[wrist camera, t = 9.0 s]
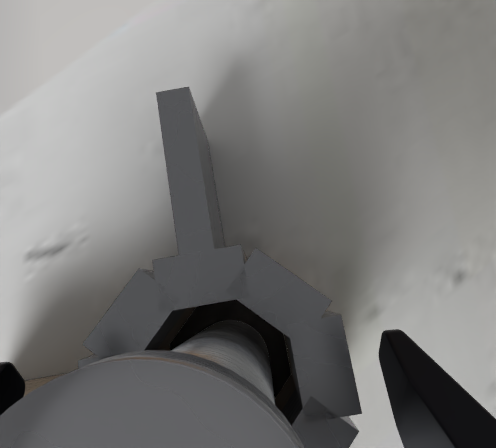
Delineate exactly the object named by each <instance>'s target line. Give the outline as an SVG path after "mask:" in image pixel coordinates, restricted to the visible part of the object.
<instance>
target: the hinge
mask: <svg viewBox="0 0 496 448" xmlns="http://www.w3.org/2000/svg"><path fill="white" fill-rule="evenodd" d="M156 95H157V102H158V109H159V117H160V124H161V131H162V138H163V145H164V152H165V159H166V167H167V174H168V181H169V188H170V195H171V202H172V209H173V217H174V224H175V231H176V238H177V245H178V252H179V255H178V256H172V257H167V258H161V259H155V260H153V268H154V271H150V270H145V269H140V268H139V269H138V270H137V272H136V273H135V275H134V276H133V277H132V279H131V280H130V281H129V283H128V284H127V285H126V287H125V288H124V289H123V291H122V292H121V293H120V295H119V296H118V297H117V299H116V300H115V301H114V303H113V304H112V305H111V307H110V308H109V309H108V311H107V312H106V314H105V315H104V316H103V318H102V319H101V320H100V322H99V323H98V324H97V326H96V327H95V328H94V330H93V331H92V332H91V334H90V335H89V336H88V338H87V339H86V340H85V342H84V343H83V345H84V346H85V347H86V348H88V349H89V350H90V351H91V352H93V353H94V354H95V355H92V356H89V357H87V358H84V359H81V360H79V361H78V369H79V368H82V367H84V366H86V365H89V364H91V363H94V362H97V361H99V360H102V359H104V358H107V357H111V356H115V355H119V354H123V353H127V352H136V351H146V350H161V351H170V344H171V342H172V341H173V339H174V338H175V337H176V335H177V334H178V332H179V331H180V330H181V328H182V327H183V325H184V324H185V323H186V321H187V320H188V318H189V317H190V315H191V314H192V313H193V311H194V310H195V308H196V307H197V306H201V305H207V304H213V303H218V302H224V301H230V300H238V301H239V302H241V303H242V304H243V305H245V306H246V307H248V308H249V309H250V310H252V311H253V312H254V313H256V314H257V315H259V316H260V317H261V318H263V319H264V320H265V321H267V322H268V323H270V324H271V325H272V326H274V327H275V328H277V329H278V330H279V331H281V332H282V333H283V334H284V339H285V344H286V350H287V355H288V361H289V366H290V372H291V375H290V376H289V378H288V380H287V381H286V383H285V384H284V386H283V387H282V389H281V390H280V392H279V393H278V395H277V396H276V398H275V406H276V407H277V408H278V409H279V410H280V411H281V412H282V413H283V415H284V416H285V417H286V419H287V420H288V422H289V423H290V424H291V426H292V427H293V429H294V430H295V432H296V433H297V435H298V436H299V438H300V440H301V442H302V444H303V446H304V448H349V447H350V445H351V444H352V442H353V440H354V439H355V437H356V435H357V434H358V432H359V431H358V429H357V428H356V426H355V425H354V423H353V422H352V421H351V419H350V418H349V416H351V415H357V414H362V411H361V407H360V402H359V397H358V392H357V388H356V383H355V378H354V373H353V369H352V364H351V359H350V354H349V350H348V345H347V340H346V335H345V331H344V326H343V321H342V316H341V315H340V314H337V313H333V312H329V311H326V309H327V308H328V306H329V305H330V303H331V302H332V301H331V300H330V299H329V298H327V297H326V296H324V295H323V294H321V293H320V292H319V291H317V290H316V289H314V288H313V287H311V286H310V285H308V284H307V283H306V282H304V281H303V280H301V279H300V278H298V277H297V276H296V275H294V274H293V273H291V272H290V271H288V270H287V269H286V268H284V267H283V266H281V265H280V264H278V263H277V262H275V261H274V260H273V259H271V258H270V257H268V256H267V255H265V254H264V253H263V252H261V251H260V250H258V249H257V248H255V250H254V251H253V253H252V254H251V256H250V257H249V258H248V260H247V258H246V255H245V253H244V251H243V248H242V246H241V245H235V246H229V247H225V243H224V237H223V231H222V225H221V219H220V213H219V206H218V200H217V194H216V188H215V182H214V176H213V169H212V163H211V157H210V151H209V145H208V140H207V137H206V134H205V131H204V128H203V125H202V123H201V120H200V117H199V114H198V111H197V109H196V106H195V103H194V100H193V97H192V95H191V92H190V89H189V87H184V88H179V89H173V90H167V91H162V92H156ZM62 375H65V374H61V375H55V376H50V377H44V378H38V379H32V380H27V381H25V393H24V396H26V395H27V394H28V393H30V392H31V391H33V390H35V389H37V388H39V387H40V386H42V385H44V384H46V383H48V382H49V381H51V380H53V379H55V378H57V377H60V376H62Z"/></svg>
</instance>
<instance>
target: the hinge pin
mask: <svg viewBox="0 0 496 448" xmlns="http://www.w3.org/2000/svg"><path fill="white" fill-rule="evenodd" d="M0 448H304V446H303V444H302V442H301V440H300V438H299V436H298V435H297V433H296V432H295V430H294V429H293V427H292V426H291V424H290V423H289V422H288V420H287V419H286V417H285V416H284V415H283V413H282V412H281V411H280V410H279V409H278V408H277V407H276V406H275V399H274V391H273V383H272V375H271V367H270V359H269V352H268V348H267V346H266V343H265V341H264V339H263V338H262V336H261V335H260V334H259V333H258V332H257V331H256V330H255V329H254V328H253V327H251V326H250V325H248V324H246V323H244V322H241V321H236V320H224V321H219V322H217V323H214V324H212V325H210V326H209V327H207V328H206V329H204V330H202V331H201V332H199V333H198V334H196V335H195V336H193V337H192V338H190V339H188V340H187V341H185V342H184V343H182V344H181V345H179V346H177V347H176V348H174V349H173V350H171V351H161V350H146V351H136V352H127V353H123V354H119V355H115V356H111V357H107V358H104V359H102V360H99V361H97V362H94V363H91V364H89V365H86V366H84V367H82V368H79V369H77V370H74V371H72V372H70V373H67V374H65V375H62V376H60V377H57V378H55V379H53V380H51V381H49V382H48V383H46V384H44V385H42V386H40V387H39V388H37V389H35V390H33V391H31V392H30V393H28V394H27V395H26V396H24V397H23V398H22V399H20V400H19V401H17V402H16V403H15V404H13V405H12V406H11V407H9V408H8V409H7V410H6V411H5V412H4V413H3V414H2V415H1V416H0Z"/></svg>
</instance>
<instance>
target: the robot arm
mask: <svg viewBox="0 0 496 448" xmlns="http://www.w3.org/2000/svg"><path fill="white" fill-rule="evenodd" d="M379 360H380V365H381V369H382V372H383V376H384V380H385V384H386V388H387V392H388V396H389V400H390V404H391V408H392V411H393V415H394V419H395V423H396V426H397V429H398V432H399V435H400V437H401V440H402V443H403V445H404V448H496V419H495V418H494V417H493V416H492V415H491V414H490V413H489V412H488V411H487V410H486V409H485V408H484V407H482V406H481V405H480V404H479V403H478V402H477V401H476V400H475V399H474V398H473V397H472V396H471V395H470V394H469V393H468V392H467V391H466V390H464V389H463V388H462V387H461V386H460V385H459V384H458V383H457V382H456V381H455V380H454V379H453V378H452V377H451V376H450V375H449V374H448V373H446V372H445V371H444V370H443V369H442V368H441V367H440V366H439V365H438V364H437V363H436V362H435V361H434V360H433V359H432V358H431V357H430V356H428V355H427V354H426V353H425V352H424V351H423V350H422V349H421V348H420V347H419V346H418V345H417V344H416V343H415V342H414V341H413V340H412V339H410V338H409V337H408V336H407V335H406V334H405V333H404V332H403V331H401V330H398V329H396V330H385V331H383V333H382V336H381V342H380V348H379ZM24 393H25V381H24V379H23V378H22V376H21V375H20V374H19V372H18V371H17V369H16V368H15V366H14V365H13V364H12V363H10V362H0V416H1V415H2V414H3V413H4V412H5V411H6V410H7V409H8V408H9V407H11V406H12V405H13V404H15V403H16V402H17V401H19V400H20V399H22V398H23V397H24Z"/></svg>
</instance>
